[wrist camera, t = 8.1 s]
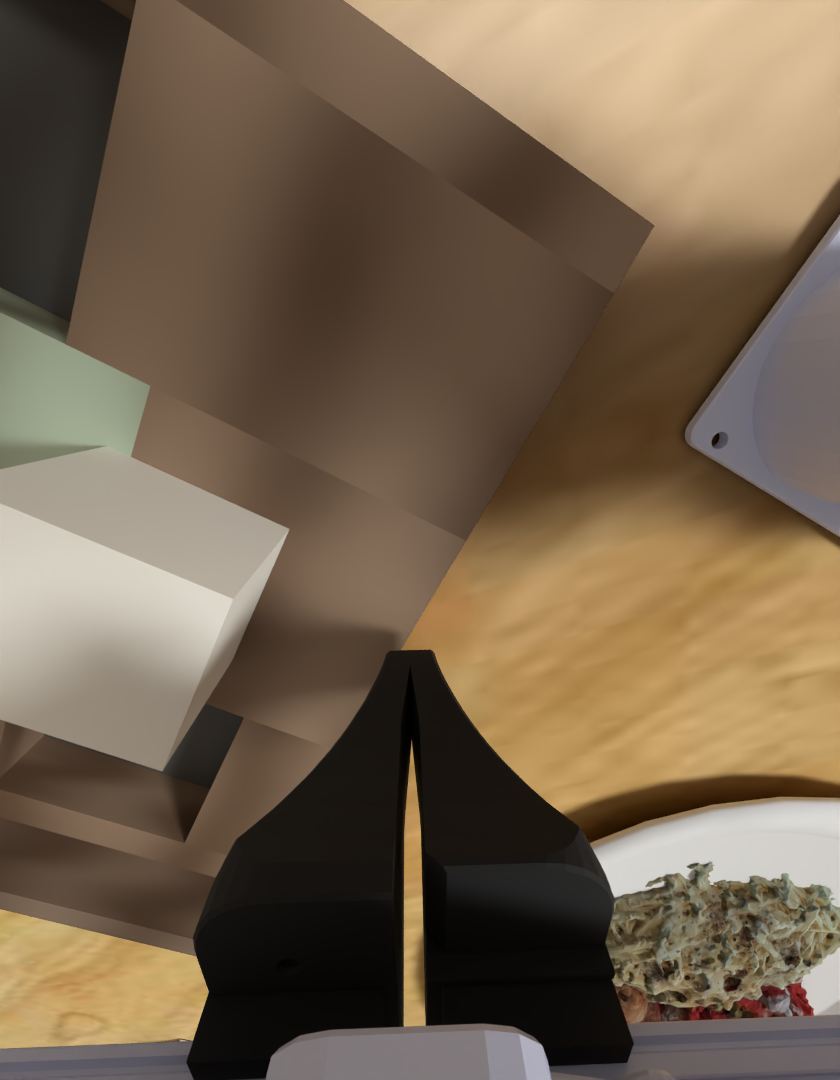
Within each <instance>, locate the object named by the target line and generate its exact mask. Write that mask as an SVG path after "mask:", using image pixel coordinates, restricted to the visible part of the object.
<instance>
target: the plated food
mask: <svg viewBox="0 0 840 1080" xmlns="http://www.w3.org/2000/svg"><path fill="white" fill-rule="evenodd" d="M590 845H591V847H592V849H593V851H594V853H595V854H596V856H597V858H598V860H599V862H600V864H601V866H602V868H603V870H604V872H605V874H606V877H607V879H608V882H609V884H610V887H611V891H612V893H613V896H614V912H613V916H612V920H611V924H610V927H609V931H608V935H607V939H606V943H605V944H606V947H607V949H608V952H609V955H610V958H611V961H612V964H613V967H614V972H615V976H614V979H612V980H613V983H614V986H615V989H616V992H617V995H618V998H619V1001H620V1004H621V1007H622V1010H623V1013H624V1016H625V1019H626V1022H627V1023H644V1022H669V1021H693V1020H717V1019H742V1018H766V1017H791V1016H815V1015H840V798H823V797H774V798H765V799H757V800H748V801H740V802H731V803H723V804H714V805H709V806H705V807H701V808H697V809H693V810H689V811H685V812H681V813H677V814H673V815H669V816H665V817H661V818H657V819H653V820H649V821H645V822H643V823H640V824H637V825H635V826H632V827H630V828H627V829H625V830H622V831H619V832H617V833H614V834H612V835H609V836H607V837H604V838H601V839H599V840H596V841H594V842H591V843H590Z"/></svg>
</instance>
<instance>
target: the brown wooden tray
mask: <svg viewBox="0 0 840 1080" xmlns="http://www.w3.org/2000/svg"><path fill="white" fill-rule="evenodd" d="M653 227H654V225H653V224H651V223H650V222H649V221H647V220H646V219H645V218H643V217H642V216H640V215H639V214H638V213H636V212H635V211H634V210H632V209H631V208H629V207H628V206H627V205H625V204H624V203H622V202H621V201H620V200H618V199H617V198H616V197H614V196H613V195H611V194H610V193H609V192H607V191H606V190H605V189H603V188H602V187H600V186H599V185H598V184H596V183H595V182H593V181H592V180H591V179H589V178H588V177H587V176H585V175H584V174H582V173H581V172H580V171H578V170H577V169H576V168H574V167H573V166H571V165H570V164H569V163H567V162H566V161H564V160H563V159H562V158H560V157H559V156H558V155H556V154H555V153H553V152H552V151H551V150H549V149H548V148H547V147H545V146H544V145H542V144H541V143H540V142H538V141H537V140H535V139H534V138H533V137H531V136H530V135H529V134H527V133H526V132H524V131H523V130H522V129H520V128H519V127H518V126H516V125H515V124H513V123H512V122H511V121H509V120H508V119H506V118H505V117H504V116H502V115H501V114H500V113H498V112H497V111H495V110H494V109H493V108H491V107H490V106H489V105H487V104H486V103H484V102H483V101H482V100H480V99H479V98H477V97H476V96H475V95H473V94H472V93H471V92H469V91H468V90H466V89H465V88H464V87H462V86H461V85H460V84H458V83H457V82H455V81H454V80H453V79H451V78H450V77H448V76H447V75H446V74H444V73H443V72H442V71H440V70H439V69H437V68H436V67H435V66H433V65H432V64H431V63H429V62H428V61H426V60H425V59H424V58H422V57H421V56H419V55H418V54H417V53H415V52H414V51H413V50H411V49H410V48H408V47H407V46H406V45H404V44H403V43H402V42H400V41H399V40H397V39H396V38H395V37H393V36H392V35H390V34H389V33H388V32H386V31H385V30H384V29H382V28H381V27H379V26H378V25H377V24H375V23H374V22H373V21H371V20H370V19H368V18H367V17H366V16H364V15H363V14H361V13H360V12H359V11H357V10H356V9H355V8H353V7H352V6H350V5H349V4H348V3H346V2H345V1H344V0H0V469H4V468H9V467H14V466H18V465H23V464H27V463H32V462H36V461H41V460H46V459H50V458H55V457H59V456H64V455H68V454H73V453H78V452H82V451H87V450H91V449H96V448H100V447H105V446H108V447H110V448H112V449H115V450H117V451H119V452H121V453H123V454H126V455H128V456H130V457H132V458H134V459H137V460H139V461H141V462H143V463H145V464H148V465H150V466H152V467H154V468H156V469H159V470H161V471H163V472H165V473H167V474H170V475H172V476H174V477H176V478H178V479H181V480H183V481H185V482H187V483H189V484H192V485H194V486H196V487H198V488H200V489H203V490H205V491H207V492H209V493H211V494H214V495H216V496H218V497H220V498H222V499H225V500H227V501H229V502H231V503H233V504H235V505H238V506H240V507H242V508H244V509H246V510H249V511H251V512H253V513H255V514H257V515H260V516H262V517H264V518H266V519H268V520H271V521H273V522H275V523H277V524H279V525H282V526H284V527H286V528H288V529H289V532H288V534H287V536H286V538H285V541H284V543H283V545H282V548H281V550H280V552H279V554H278V557H277V559H276V561H275V564H274V566H273V568H272V570H271V573H270V575H269V577H268V580H267V582H266V584H265V587H264V589H263V591H262V593H261V596H260V598H259V600H258V603H257V605H256V607H255V609H254V612H253V614H252V616H251V619H250V621H249V623H248V625H247V628H246V630H245V632H244V635H243V637H242V639H241V641H240V644H239V646H238V648H237V651H236V653H235V655H234V658H233V660H232V662H231V663H230V665H229V666H228V668H227V670H226V671H225V673H224V674H223V676H222V678H221V679H220V681H219V682H218V684H217V686H216V687H215V689H214V690H213V692H212V693H211V695H210V697H209V698H208V700H207V701H206V703H205V705H204V706H203V708H202V709H201V711H200V712H199V714H198V716H197V717H196V719H195V720H194V722H193V724H192V725H191V727H190V728H189V730H188V731H187V733H186V735H185V736H184V738H183V739H182V741H181V743H180V744H179V746H178V747H177V749H176V751H175V752H174V754H173V755H172V757H171V758H170V760H169V762H168V763H167V765H166V766H165V768H164V770H163V771H159V770H156V769H153V768H150V767H147V766H144V765H141V764H137V763H134V762H131V761H128V760H125V759H122V758H119V757H116V756H112V755H109V754H106V753H103V752H100V751H97V750H94V749H91V748H87V747H84V746H81V745H78V744H75V743H72V742H69V741H66V740H62V739H59V738H56V737H53V736H50V735H47V734H44V733H41V732H37V731H34V730H31V729H28V728H25V727H22V726H19V725H16V724H12V723H9V722H6V721H3V720H0V909H2V910H6V911H10V912H15V913H19V914H23V915H27V916H31V917H35V918H40V919H44V920H48V921H52V922H56V923H60V924H64V925H69V926H73V927H77V928H81V929H85V930H89V931H94V932H98V933H102V934H106V935H110V936H114V937H118V938H123V939H127V940H131V941H135V942H139V943H143V944H147V945H152V946H156V947H160V948H164V949H168V950H172V951H177V952H181V953H185V954H189V955H193V956H196V953H195V950H194V943H193V935H194V932H195V930H196V927H197V924H198V921H199V919H200V916H201V913H202V911H203V908H204V905H205V903H206V900H207V897H208V895H209V892H210V889H211V887H212V885H213V882H214V880H215V878H216V876H217V874H218V872H219V870H220V868H221V866H222V864H223V862H224V860H225V858H226V857H227V855H228V853H229V851H230V849H231V847H232V846H233V844H234V842H235V840H236V839H237V838H238V837H240V836H241V835H242V834H243V833H245V832H246V831H247V830H248V829H249V828H251V827H252V826H253V825H254V824H255V823H257V822H258V821H259V820H260V819H261V818H263V817H264V816H265V815H266V814H267V813H269V812H270V811H271V810H272V809H273V808H274V807H275V806H277V805H278V804H279V803H280V802H281V801H282V800H283V799H284V798H285V797H286V796H287V795H288V794H289V793H290V792H291V791H292V790H293V789H294V788H295V787H296V786H297V785H298V784H299V783H300V782H301V781H302V780H303V779H305V778H306V776H307V775H308V774H309V773H310V772H311V771H312V770H313V769H314V768H315V767H316V766H317V764H318V763H319V762H320V761H321V760H322V759H323V757H324V756H325V755H326V754H327V753H328V752H329V750H330V749H331V748H332V747H333V746H334V744H335V743H336V742H337V740H338V739H339V738H340V737H341V735H342V734H343V732H344V731H345V730H346V728H347V727H348V725H349V724H350V723H351V721H352V720H353V718H354V716H355V715H356V713H357V712H358V710H359V709H360V707H361V705H362V704H363V702H364V701H365V699H366V697H367V695H368V693H369V692H370V690H371V688H372V686H373V684H374V682H375V680H376V678H377V676H378V674H379V672H380V670H381V667H382V665H383V662H384V660H385V656H386V654H387V653H388V652H389V651H399V650H401V648H402V647H403V645H404V643H405V642H406V640H407V638H408V637H409V635H410V633H411V632H412V630H413V628H414V627H415V625H416V623H417V622H418V620H419V618H420V617H421V615H422V613H423V612H424V610H425V608H426V607H427V605H428V603H429V602H430V600H431V598H432V596H433V595H434V593H435V591H436V590H437V588H438V586H439V585H440V583H441V581H442V580H443V578H444V576H445V575H446V573H447V571H448V570H449V568H450V566H451V565H452V563H453V561H454V560H455V558H456V556H457V555H458V553H459V551H460V550H461V548H462V546H463V545H464V543H465V541H466V540H467V538H468V536H469V535H470V533H471V531H472V530H473V528H474V526H475V525H476V523H477V521H478V520H479V518H480V516H481V515H482V513H483V511H484V510H485V508H486V506H487V505H488V503H489V501H490V500H491V498H492V496H493V495H494V493H495V491H496V490H497V488H498V486H499V485H500V483H501V481H502V479H503V478H504V476H505V474H506V473H507V471H508V469H509V468H510V466H511V464H512V463H513V461H514V459H515V458H516V456H517V454H518V453H519V451H520V449H521V448H522V446H523V444H524V443H525V441H526V439H527V438H528V436H529V434H530V433H531V431H532V429H533V428H534V426H535V424H536V423H537V421H538V419H539V418H540V416H541V414H542V413H543V411H544V409H545V408H546V406H547V404H548V403H549V401H550V399H551V398H552V396H553V394H554V393H555V391H556V389H557V388H558V386H559V384H560V383H561V381H562V379H563V378H564V376H565V374H566V373H567V371H568V369H569V368H570V366H571V364H572V363H573V361H574V359H575V357H576V356H577V354H578V352H579V351H580V349H581V347H582V346H583V344H584V342H585V341H586V339H587V337H588V336H589V334H590V332H591V331H592V329H593V327H594V326H595V324H596V322H597V321H598V319H599V317H600V316H601V314H602V312H603V311H604V309H605V307H606V306H607V304H608V302H609V301H610V299H611V297H612V296H613V294H614V292H615V291H616V289H617V287H618V286H619V284H620V282H621V281H622V279H623V277H624V276H625V274H626V272H627V271H628V269H629V267H630V266H631V264H632V262H633V261H634V259H635V257H636V256H637V254H638V252H639V251H640V249H641V247H642V246H643V244H644V242H645V240H646V239H647V237H648V235H649V234H650V232H651V230H652V229H653Z"/></svg>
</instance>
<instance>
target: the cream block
mask: <svg viewBox="0 0 840 1080" xmlns="http://www.w3.org/2000/svg"><path fill="white" fill-rule="evenodd" d="M288 532H289V529H288V528H286V527H284V526H282V525H279V524H277V523H275V522H273V521H271V520H268V519H266V518H264V517H262V516H260V515H257V514H255V513H253V512H251V511H249V510H246V509H244V508H242V507H240V506H238V505H235V504H233V503H231V502H229V501H227V500H225V499H222V498H220V497H218V496H216V495H214V494H211V493H209V492H207V491H205V490H203V489H200V488H198V487H196V486H194V485H192V484H189V483H187V482H185V481H183V480H181V479H178V478H176V477H174V476H172V475H170V474H167V473H165V472H163V471H161V470H159V469H156V468H154V467H152V466H150V465H148V464H145V463H143V462H141V461H139V460H137V459H134V458H132V457H130V456H128V455H126V454H123V453H121V452H119V451H117V450H115V449H112V448H110V447H108V446H105V447H100V448H96V449H91V450H87V451H82V452H78V453H73V454H68V455H64V456H59V457H55V458H50V459H46V460H41V461H36V462H32V463H27V464H23V465H18V466H14V467H9V468H4V469H0V720H3V721H6V722H9V723H12V724H16V725H19V726H22V727H25V728H28V729H31V730H34V731H37V732H41V733H44V734H47V735H50V736H53V737H56V738H59V739H62V740H66V741H69V742H72V743H75V744H78V745H81V746H84V747H87V748H91V749H94V750H97V751H100V752H103V753H106V754H109V755H112V756H116V757H119V758H122V759H125V760H128V761H131V762H134V763H137V764H141V765H144V766H147V767H150V768H153V769H156V770H159V771H163V770H164V768H165V766H166V765H167V763H168V762H169V760H170V758H171V757H172V755H173V754H174V752H175V751H176V749H177V747H178V746H179V744H180V743H181V741H182V739H183V738H184V736H185V735H186V733H187V731H188V730H189V728H190V727H191V725H192V724H193V722H194V720H195V719H196V717H197V716H198V714H199V712H200V711H201V709H202V708H203V706H204V705H205V703H206V701H207V700H208V698H209V697H210V695H211V693H212V692H213V690H214V689H215V687H216V686H217V684H218V682H219V681H220V679H221V678H222V676H223V674H224V673H225V671H226V670H227V668H228V666H229V665H230V663H231V662H232V660H233V658H234V655H235V653H236V651H237V648H238V646H239V644H240V641H241V639H242V637H243V635H244V632H245V630H246V628H247V625H248V623H249V621H250V619H251V616H252V614H253V612H254V609H255V607H256V605H257V603H258V600H259V598H260V596H261V593H262V591H263V589H264V587H265V584H266V582H267V580H268V577H269V575H270V573H271V570H272V568H273V566H274V564H275V561H276V559H277V557H278V554H279V552H280V550H281V548H282V545H283V543H284V541H285V538H286V536H287V534H288Z"/></svg>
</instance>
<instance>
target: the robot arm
mask: <svg viewBox="0 0 840 1080" xmlns="http://www.w3.org/2000/svg"><path fill="white" fill-rule="evenodd" d="M717 433H719V436H720V439H719V441H718V443H717V444H716V445H714V446H712V444H711V441H712V438H713V436H715V435H716V434H717ZM685 440H686V442H687V443H688V444H689V445H690V446H691V447H693V448H694V449H696V450H698V451H699V452H701V453H703V454H704V455H706V456H707V457H709V458H711V459H712V460H714V461H716V462H717V463H719V464H721V465H722V466H724V467H725V468H727V469H729V470H730V471H732V472H734V473H735V474H737V475H739V476H740V477H742V478H744V479H745V480H747V481H748V482H750V483H752V484H753V485H755V486H757V487H758V488H760V489H762V490H763V491H765V492H766V493H768V494H770V495H771V496H773V497H775V498H776V499H778V500H780V501H781V502H783V503H784V504H786V505H788V506H789V507H791V508H793V509H794V510H796V511H798V512H799V513H801V514H803V515H804V516H806V517H807V518H809V519H811V520H812V521H814V522H816V523H817V524H819V525H821V526H822V527H824V528H825V529H827V530H829V531H830V532H832V533H834V534H835V535H837V536H839V537H840V215H839V216H838V218H837V219H836V220H835V222H834V223H833V225H832V226H831V227H830V229H829V230H828V232H827V233H826V234H825V236H824V237H823V238H822V240H821V241H820V243H819V244H818V245H817V247H816V248H815V250H814V251H813V252H812V254H811V255H810V256H809V258H808V259H807V261H806V262H805V263H804V265H803V266H802V268H801V269H800V270H799V272H798V273H797V274H796V276H795V277H794V279H793V280H792V281H791V283H790V284H789V286H788V287H787V288H786V290H785V291H784V292H783V294H782V295H781V297H780V298H779V299H778V301H777V302H776V304H775V305H774V306H773V308H772V309H771V310H770V312H769V313H768V315H767V316H766V317H765V319H764V320H763V322H762V323H761V324H760V326H759V327H758V328H757V330H756V331H755V333H754V334H753V335H752V337H751V338H750V340H749V341H748V342H747V344H746V345H745V346H744V348H743V349H742V351H741V352H740V353H739V355H738V356H737V358H736V359H735V360H734V362H733V363H732V364H731V366H730V367H729V369H728V370H727V371H726V373H725V374H724V376H723V377H722V378H721V380H720V381H719V382H718V384H717V385H716V387H715V388H714V389H713V391H712V392H711V394H710V395H709V396H708V398H707V399H706V401H705V402H704V403H703V405H702V406H701V407H700V409H699V410H698V412H697V413H696V414H695V416H694V417H693V419H692V420H691V421H690V423H689V424H688V426H687V428H686V430H685ZM411 740H412V746H413V755H414V765H415V774H416V783H417V793H418V802H419V811H420V824H421V848H422V888H423V929H424V971H425V1014H426V1026H413V1027H404V825H405V809H406V798H407V787H408V775H409V764H410V752H411ZM613 912H614V896H613V893H612V891H611V887H610V884H609V882H608V879H607V877H606V874H605V872H604V870H603V868H602V866H601V864H600V862H599V860H598V858H597V856H596V854H595V853H594V851H593V849H592V847H591V845H590V843H589V842H588V840H587V838H586V836H585V835H584V833H583V831H582V830H581V828H580V827H578V826H577V825H576V824H575V823H573V822H572V821H571V820H569V819H568V818H567V817H565V816H564V815H563V814H562V813H560V812H559V811H558V810H556V809H555V808H554V807H552V806H551V805H550V804H549V803H547V802H546V801H545V800H544V799H543V798H542V797H540V796H539V795H538V794H537V793H536V792H535V791H534V790H533V789H531V788H530V787H529V786H528V785H527V784H526V783H525V782H524V781H523V780H522V779H521V778H520V777H519V776H518V775H517V774H516V773H515V772H514V771H513V770H512V769H511V768H510V767H509V766H508V765H507V764H506V763H505V762H504V761H503V760H502V759H501V758H500V757H499V755H498V754H497V753H496V752H495V751H494V750H493V749H492V748H491V746H490V745H489V744H488V743H487V742H486V740H485V739H484V738H483V737H482V735H481V734H480V733H479V732H478V730H477V729H476V728H475V726H474V725H473V724H472V722H471V721H470V719H469V718H468V716H467V715H466V713H465V712H464V711H463V709H462V707H461V706H460V704H459V703H458V701H457V700H456V698H455V696H454V694H453V693H452V691H451V689H450V687H449V686H448V684H447V682H446V680H445V678H444V676H443V674H442V672H441V670H440V668H439V665H438V663H437V660H436V657H435V653H434V652H433V651H432V650H399V651H389V652H388V653H387V654H386V656H385V660H384V662H383V665H382V667H381V670H380V672H379V674H378V676H377V678H376V680H375V682H374V684H373V686H372V688H371V690H370V692H369V693H368V695H367V697H366V699H365V701H364V702H363V704H362V705H361V707H360V709H359V710H358V712H357V713H356V715H355V716H354V718H353V720H352V721H351V723H350V724H349V725H348V727H347V728H346V730H345V731H344V732H343V734H342V735H341V737H340V738H339V739H338V740H337V742H336V743H335V744H334V746H333V747H332V748H331V749H330V750H329V752H328V753H327V754H326V755H325V756H324V757H323V759H322V760H321V761H320V762H319V763H318V764H317V766H316V767H315V768H314V769H313V770H312V771H311V772H310V773H309V774H308V775H307V776H306V778H305V779H303V780H302V781H301V782H300V783H299V784H298V785H297V786H296V787H295V788H294V789H293V790H292V791H291V792H290V793H289V794H288V795H287V796H286V797H285V798H284V799H283V800H282V801H281V802H280V803H279V804H278V805H277V806H275V807H274V808H273V809H272V810H271V811H270V812H269V813H267V814H266V815H265V816H264V817H263V818H261V819H260V820H259V821H258V822H257V823H255V824H254V825H253V826H252V827H251V828H249V829H248V830H247V831H246V832H245V833H243V834H242V835H241V836H240V837H238V838H237V839H236V840H235V842H234V844H233V846H232V847H231V849H230V851H229V853H228V855H227V857H226V858H225V860H224V862H223V864H222V866H221V868H220V870H219V872H218V874H217V876H216V878H215V880H214V882H213V885H212V887H211V889H210V892H209V895H208V897H207V900H206V903H205V905H204V908H203V911H202V913H201V916H200V919H199V921H198V924H197V927H196V930H195V932H194V935H193V943H194V950H195V953H196V956H197V959H198V962H199V965H200V968H201V970H202V973H203V976H204V979H205V982H206V985H207V987H208V990H209V994H208V997H207V1000H206V1003H205V1006H204V1009H203V1012H202V1015H201V1018H200V1021H199V1024H198V1027H197V1031H196V1034H195V1037H194V1040H193V1041H179V1042H155V1043H131V1044H106V1045H82V1046H57V1047H33V1048H8V1049H0V1080H840V1015H815V1016H791V1017H766V1018H742V1019H717V1020H693V1021H669V1022H644V1023H627V1022H626V1019H625V1016H624V1013H623V1010H622V1007H621V1004H620V1001H619V998H618V995H617V992H616V989H615V986H614V983H613V980H612V979H614V976H615V972H614V967H613V964H612V961H611V958H610V955H609V952H608V949H607V947H606V944H605V943H606V939H607V935H608V931H609V927H610V924H611V920H612V916H613Z"/></svg>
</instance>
